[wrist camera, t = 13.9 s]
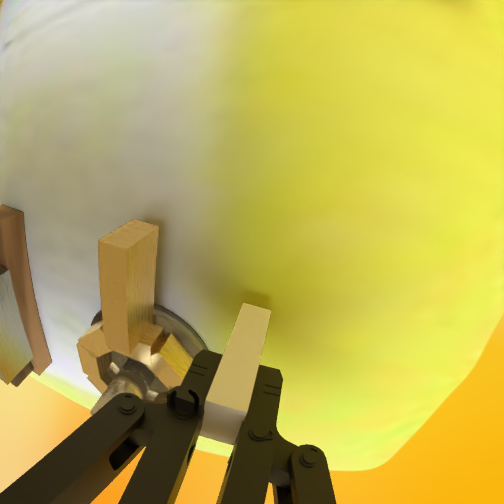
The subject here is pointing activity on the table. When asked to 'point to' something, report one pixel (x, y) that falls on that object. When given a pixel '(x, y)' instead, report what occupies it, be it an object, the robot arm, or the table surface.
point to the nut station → (137, 373)
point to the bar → (11, 331)
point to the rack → (22, 288)
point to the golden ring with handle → (130, 313)
